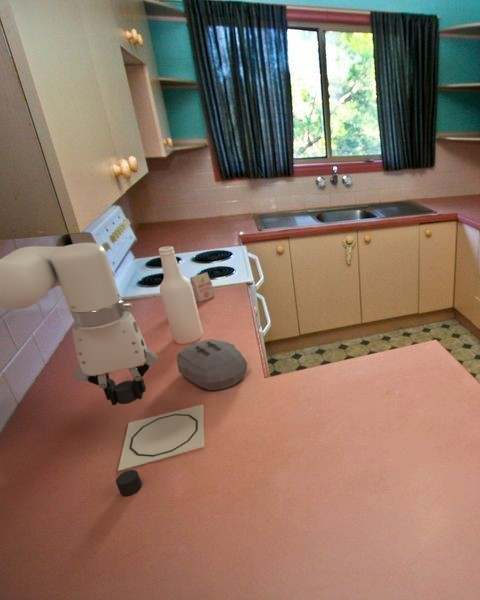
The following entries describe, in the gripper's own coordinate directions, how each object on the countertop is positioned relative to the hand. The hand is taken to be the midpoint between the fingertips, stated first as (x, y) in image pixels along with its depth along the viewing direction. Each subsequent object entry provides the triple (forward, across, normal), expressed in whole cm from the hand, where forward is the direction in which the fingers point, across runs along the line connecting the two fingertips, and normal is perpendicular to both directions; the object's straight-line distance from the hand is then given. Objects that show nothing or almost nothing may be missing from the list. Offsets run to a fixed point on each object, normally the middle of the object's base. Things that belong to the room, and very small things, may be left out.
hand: (128, 397), depth 83 cm
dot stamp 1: (0, 0, 0) cm, 0 cm away
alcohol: (+15, -6, -54) cm, 56 cm away
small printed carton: (+15, -11, -87) cm, 89 cm away
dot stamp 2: (+15, +2, +8) cm, 17 cm away
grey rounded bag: (+15, -14, -27) cm, 34 cm away
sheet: (+15, -3, -6) cm, 16 cm away
